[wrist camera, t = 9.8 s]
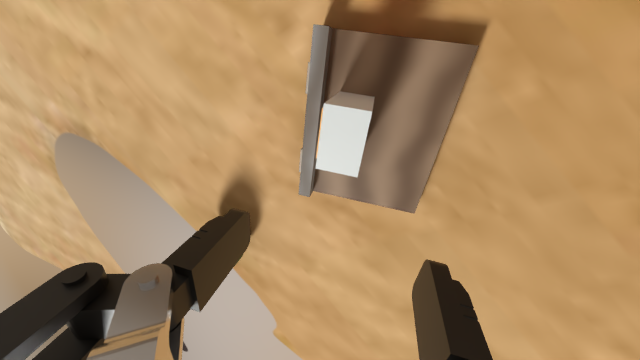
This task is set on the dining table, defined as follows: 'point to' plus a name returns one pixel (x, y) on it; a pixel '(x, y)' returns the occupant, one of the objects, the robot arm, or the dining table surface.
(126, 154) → the dining table surface
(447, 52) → the shelf board
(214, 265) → the robot arm
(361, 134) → the tea box
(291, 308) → the dining table surface
